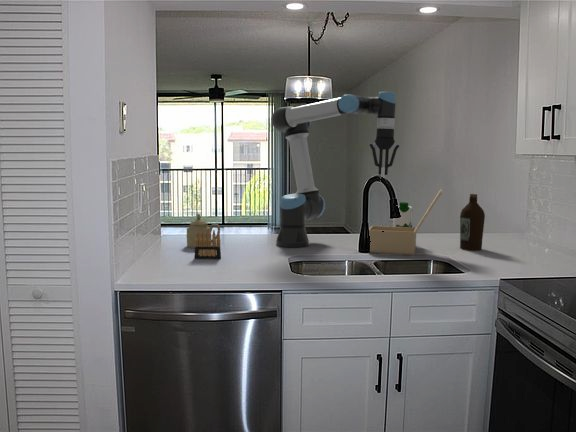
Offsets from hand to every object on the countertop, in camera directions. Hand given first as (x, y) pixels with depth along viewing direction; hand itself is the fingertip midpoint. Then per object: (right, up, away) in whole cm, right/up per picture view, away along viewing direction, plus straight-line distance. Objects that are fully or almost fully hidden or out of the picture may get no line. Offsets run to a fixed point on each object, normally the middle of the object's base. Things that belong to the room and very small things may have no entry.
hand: (382, 182), depth 251 cm
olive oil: (+42, -30, +10) cm, 52 cm away
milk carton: (+12, -28, +20) cm, 37 cm away
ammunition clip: (-75, -32, -17) cm, 83 cm away
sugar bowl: (-80, -29, +10) cm, 86 cm away
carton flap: (+19, -12, -4) cm, 23 cm away
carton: (+5, -30, +2) cm, 31 cm away
